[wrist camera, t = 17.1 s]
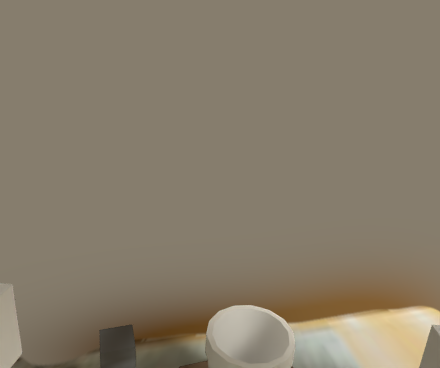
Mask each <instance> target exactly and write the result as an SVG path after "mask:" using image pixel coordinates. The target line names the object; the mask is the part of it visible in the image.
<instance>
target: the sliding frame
mask: <svg viewBox="0 0 440 368" xmlns="http://www.w3.org/2000/svg"><path fill="white" fill-rule="evenodd" d="M100 362H101V368H136V351H135V340H134V334H133V327H132V325H126V326H121V327H115V328H109V329H103V330H100ZM179 368H208V361H203V362H199V363H194V364H189V365H185V366H180V367H179ZM291 368H293V367H292V366H291Z"/></svg>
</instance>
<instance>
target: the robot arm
mask: <svg viewBox="0 0 440 368" xmlns="http://www.w3.org/2000/svg"><path fill="white" fill-rule="evenodd" d="M21 354H22V347H21V340H20V333H19V327H18V319H17V312H16V305H15V298H14V292H13V285H12V284H2V283H0V368H11V367H12V366H13V364H14V363H15V362H16V361H17V359H18V358H19V357H20V356H21ZM419 368H440V326H439V325H432V327H431V330H430V333H429V337H428V340H427V344H426V347H425V350H424V354H423V357H422V360H421V364H420V367H419Z"/></svg>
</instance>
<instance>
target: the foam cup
mask: <svg viewBox="0 0 440 368" xmlns="http://www.w3.org/2000/svg"><path fill="white" fill-rule="evenodd" d="M294 352H295V339H294V332H293V331H292V329H291V328H290V327H289V325H288V324H287V323H286V321H285V320H284V319H283V318H281V317H280V316H278V315H276V314H275V313H273V312H271V311H270V310H267V309H264V308H260V307H256V306H252V305H244V306H243V305H242V306H232V307H230V308H226V309H223V310H221V311H219V312H218V313H217V314H216V315H215V316H214V317H213V318H212V319H211V320H210V321H209V324H208V329H207V333H206V347H205V353H206V356H207V358H208V368H291V366H292V365H293V358H294Z"/></svg>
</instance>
